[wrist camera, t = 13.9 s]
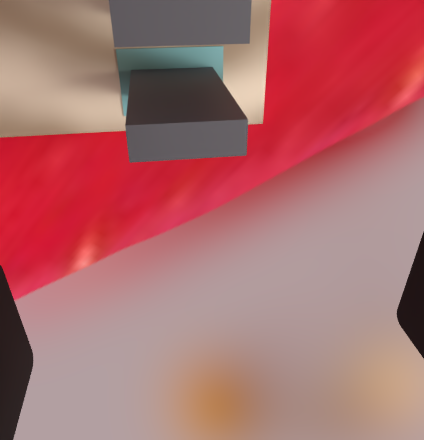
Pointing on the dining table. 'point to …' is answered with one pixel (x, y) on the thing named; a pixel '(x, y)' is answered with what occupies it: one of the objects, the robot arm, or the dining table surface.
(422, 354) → the robot arm
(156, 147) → the domino
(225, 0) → the domino
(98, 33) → the board
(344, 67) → the dining table surface
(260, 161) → the dining table surface
